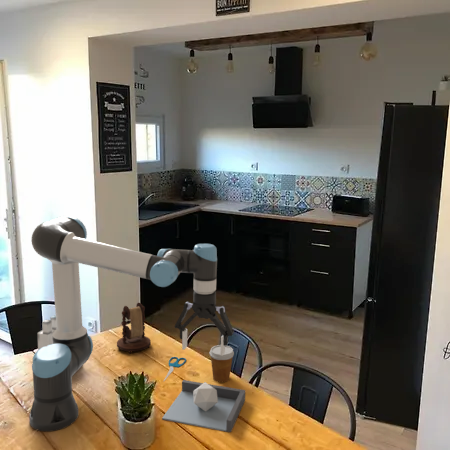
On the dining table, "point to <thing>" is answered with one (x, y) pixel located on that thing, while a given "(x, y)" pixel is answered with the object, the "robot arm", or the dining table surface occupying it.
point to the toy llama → (47, 332)
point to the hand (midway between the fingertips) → (203, 351)
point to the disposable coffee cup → (221, 363)
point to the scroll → (133, 330)
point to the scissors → (174, 365)
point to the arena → (214, 417)
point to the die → (205, 396)
